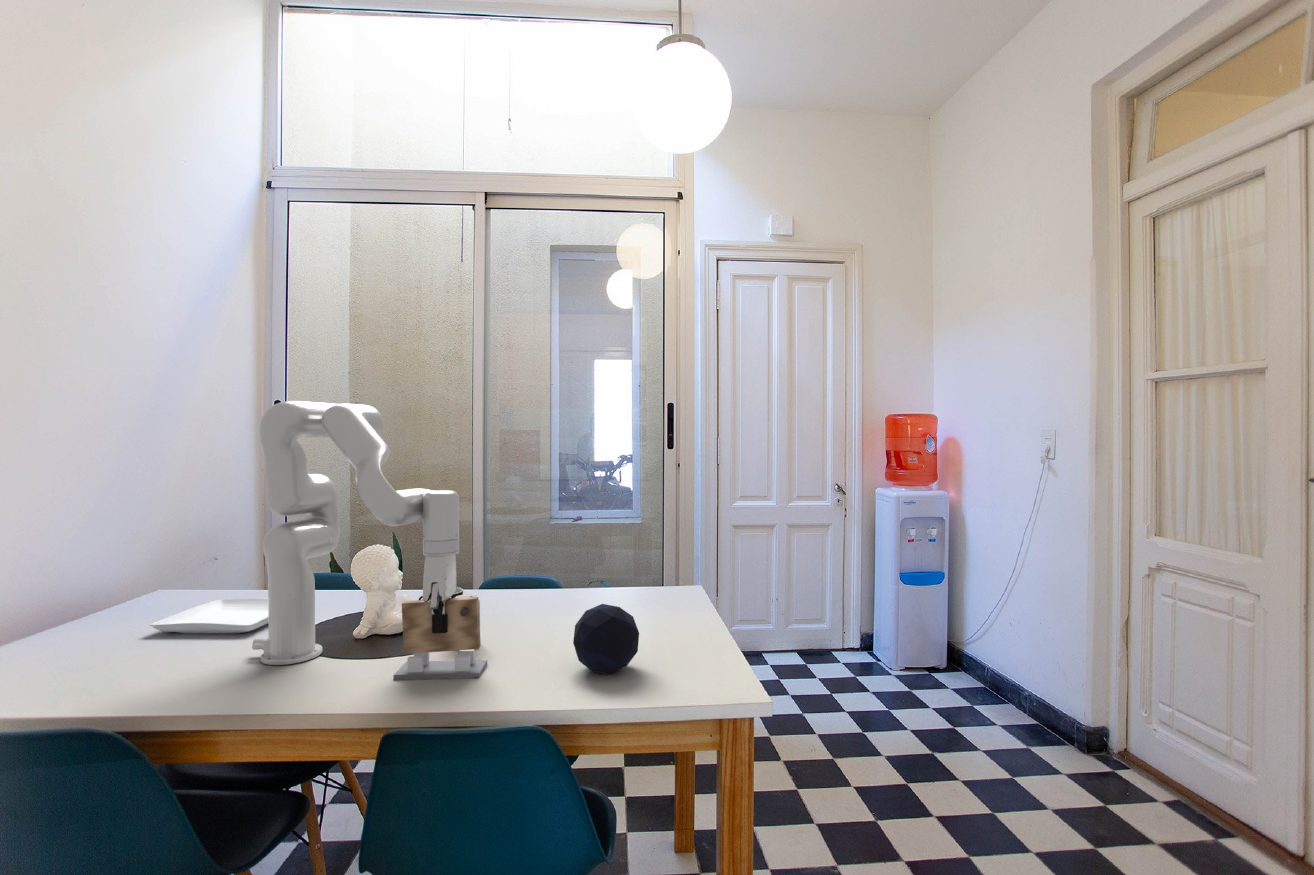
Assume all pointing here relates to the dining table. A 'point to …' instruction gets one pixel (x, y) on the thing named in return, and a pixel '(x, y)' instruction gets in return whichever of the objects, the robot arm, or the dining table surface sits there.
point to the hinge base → (441, 667)
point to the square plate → (218, 617)
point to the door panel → (458, 636)
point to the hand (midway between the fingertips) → (441, 630)
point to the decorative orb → (606, 639)
